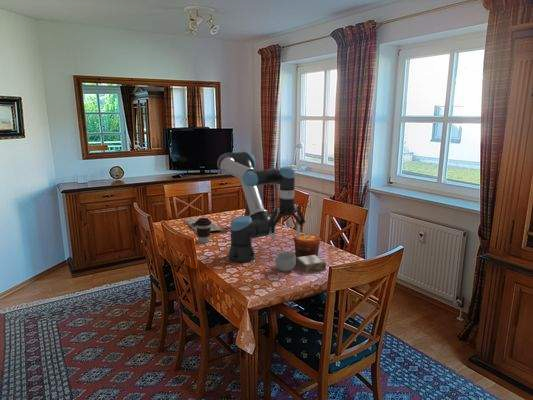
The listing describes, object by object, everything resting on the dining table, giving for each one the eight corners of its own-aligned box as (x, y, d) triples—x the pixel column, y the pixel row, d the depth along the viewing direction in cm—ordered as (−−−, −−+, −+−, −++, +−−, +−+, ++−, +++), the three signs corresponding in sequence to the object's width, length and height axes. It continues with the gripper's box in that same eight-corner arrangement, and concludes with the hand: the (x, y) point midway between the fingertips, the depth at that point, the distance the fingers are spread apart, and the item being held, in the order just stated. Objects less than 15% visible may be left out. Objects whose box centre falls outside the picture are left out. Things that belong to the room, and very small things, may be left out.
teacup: (294, 274, 188) (294, 259, 186) (273, 272, 190) (273, 258, 188) (297, 264, 201) (297, 250, 199) (277, 262, 203) (277, 248, 201)
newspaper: (185, 222, 282) (185, 219, 281) (209, 219, 290) (209, 216, 289) (199, 236, 250) (199, 232, 249) (226, 232, 258) (226, 228, 257)
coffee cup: (207, 244, 231) (206, 221, 228) (193, 243, 234) (192, 220, 231) (214, 240, 240) (213, 217, 237) (201, 238, 243) (200, 216, 240)
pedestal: (304, 272, 189) (305, 265, 188) (295, 264, 200) (295, 256, 199) (325, 269, 193) (325, 262, 192) (315, 261, 204) (315, 254, 203)
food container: (294, 249, 223) (294, 232, 221) (320, 251, 221) (321, 233, 218) (291, 259, 208) (291, 240, 206) (320, 260, 205) (320, 242, 203)
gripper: (266, 201, 180) (266, 242, 184) (312, 197, 188) (311, 237, 193) (261, 198, 187) (261, 238, 191) (305, 194, 195) (304, 232, 200)
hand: (286, 237), depth 192 cm, fingers open, 13 cm apart
